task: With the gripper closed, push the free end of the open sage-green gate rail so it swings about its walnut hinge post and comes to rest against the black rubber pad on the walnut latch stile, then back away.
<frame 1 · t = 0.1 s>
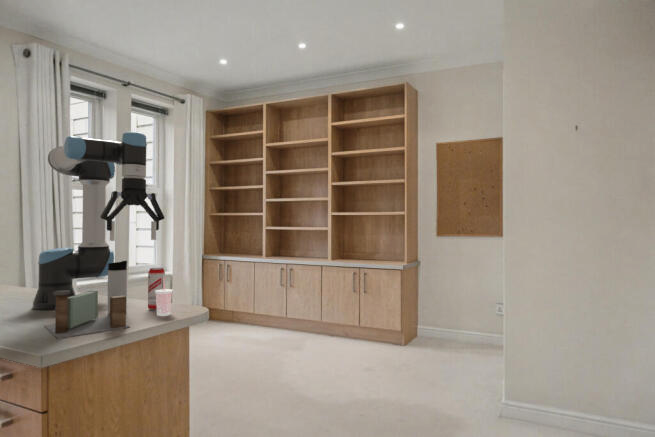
hand: (133, 240, 147), 28 cm above the worktop, tool pointing down, fingers open, 13 cm apart
beer can: (156, 309, 169), on the worktop
stile: (117, 327, 139), resting on base mat
beverage cup: (163, 315, 159), on the worktop
hinge post: (61, 333, 131), resting on base mat
gate: (80, 308, 141), point 6 cm above the worktop, hinge at 45.0°
base mat: (87, 326, 140), on the worktop
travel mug: (117, 315, 157), on the worktop
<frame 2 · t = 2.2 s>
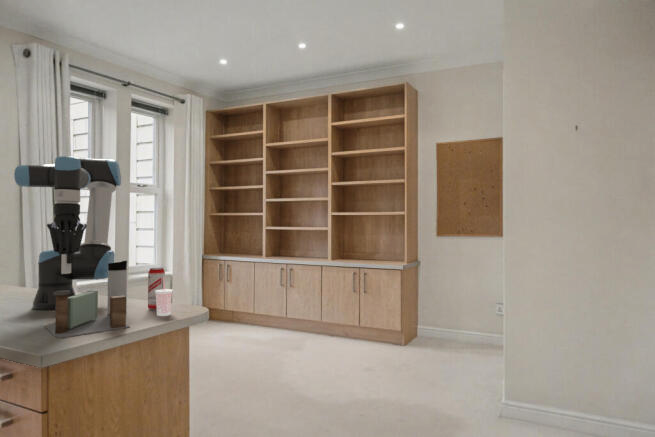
hand: (66, 273, 144), 17 cm above the worktop, tool pointing down, fingers closed
nothing on the worktop moved.
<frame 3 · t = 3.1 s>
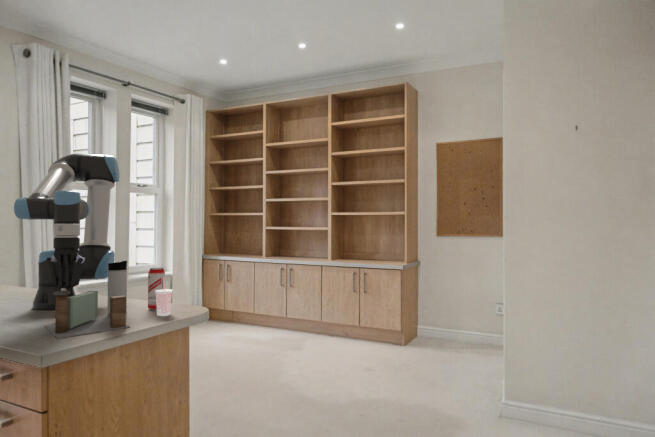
hand: (65, 307, 143), 6 cm above the worktop, tool pointing down, fingers closed
nothing on the worktop moved.
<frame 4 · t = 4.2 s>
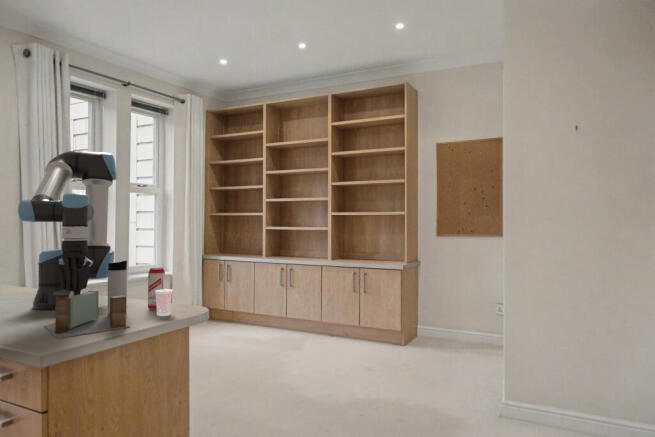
hand: (73, 310, 143), 5 cm above the worktop, tool pointing down, fingers closed
gate: (80, 308, 141), point 6 cm above the worktop, hinge at 44.0°, touching gripper
everything else where it was.
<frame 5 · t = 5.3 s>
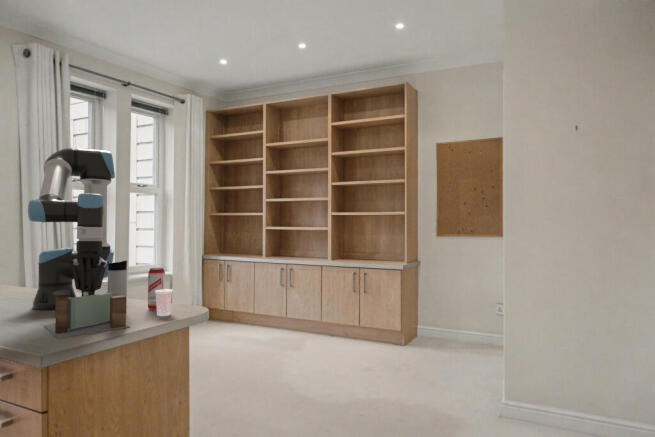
hand: (87, 311, 143), 5 cm above the worktop, tool pointing down, fingers closed
gate: (91, 309, 139), point 6 cm above the worktop, hinge at 17.4°, touching gripper
everything else where it was.
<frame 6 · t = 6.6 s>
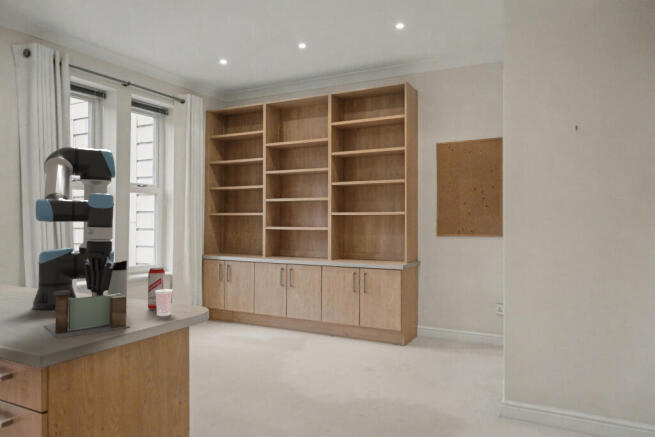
hand: (97, 311, 141), 5 cm above the worktop, tool pointing down, fingers closed
gate: (95, 310, 138), point 6 cm above the worktop, hinge at -0.7°, touching gripper, stile
everything else where it was.
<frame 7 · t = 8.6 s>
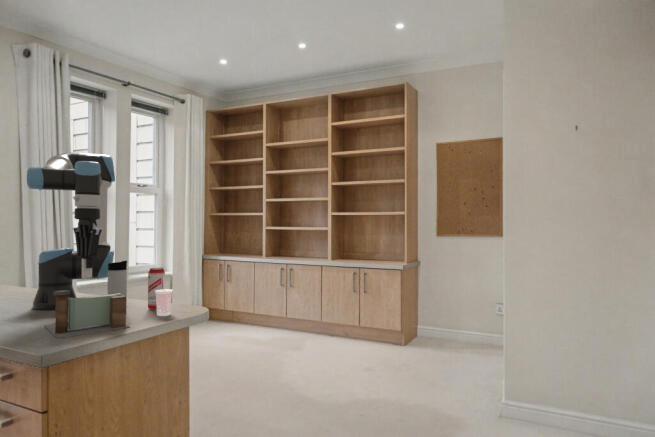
hand: (86, 277, 145), 15 cm above the worktop, tool pointing down, fingers closed
gate: (95, 310, 138), point 6 cm above the worktop, hinge at -0.7°, touching stile
everything else where it was.
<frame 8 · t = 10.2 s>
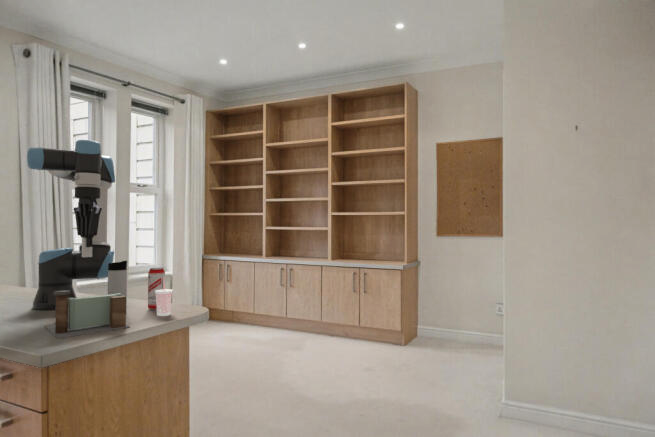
hand: (86, 256, 144), 22 cm above the worktop, tool pointing down, fingers closed
nothing on the worktop moved.
at the end: gate at -1° (first picture: +45°) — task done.
